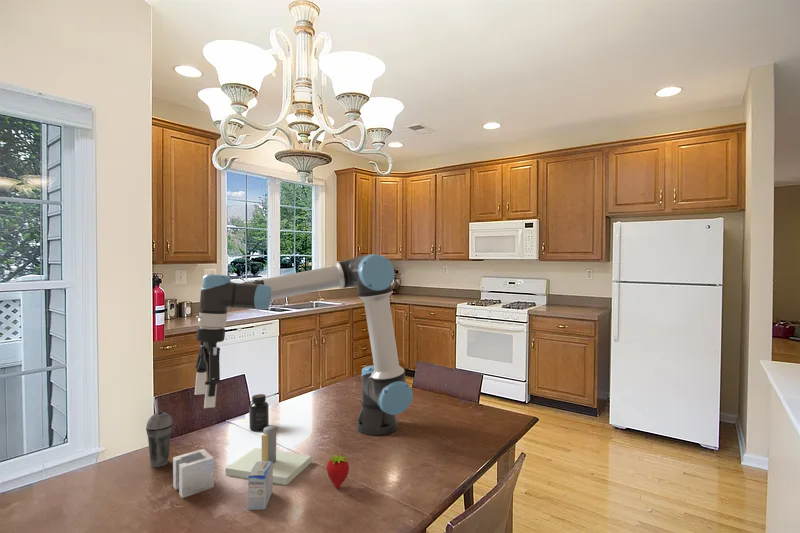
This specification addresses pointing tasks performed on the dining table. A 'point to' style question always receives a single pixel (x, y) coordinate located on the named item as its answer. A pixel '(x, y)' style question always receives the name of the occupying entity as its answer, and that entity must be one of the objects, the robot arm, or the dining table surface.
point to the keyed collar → (193, 472)
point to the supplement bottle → (259, 413)
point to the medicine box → (260, 485)
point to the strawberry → (337, 470)
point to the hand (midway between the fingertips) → (204, 400)
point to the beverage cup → (159, 437)
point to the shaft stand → (283, 462)
